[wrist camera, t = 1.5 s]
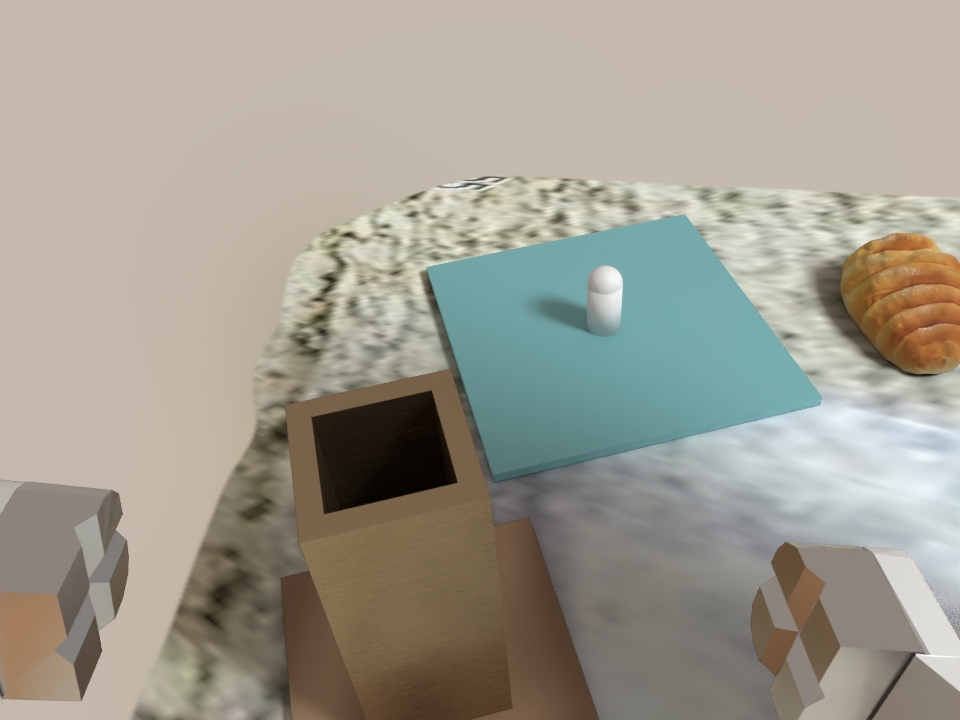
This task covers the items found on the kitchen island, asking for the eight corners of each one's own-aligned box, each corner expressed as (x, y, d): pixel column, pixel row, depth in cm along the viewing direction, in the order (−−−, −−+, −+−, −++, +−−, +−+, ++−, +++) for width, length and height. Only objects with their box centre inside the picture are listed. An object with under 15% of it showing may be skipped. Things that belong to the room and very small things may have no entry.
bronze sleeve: (480, 590, 39) (450, 368, 29) (512, 708, 35) (490, 497, 25) (357, 621, 38) (284, 404, 28) (376, 745, 34) (298, 543, 24)
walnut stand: (529, 524, 42) (525, 450, 38) (614, 772, 33) (620, 709, 29) (283, 584, 40) (253, 513, 36) (306, 860, 32) (269, 806, 28)
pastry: (998, 381, 46) (1023, 329, 44) (870, 386, 47) (887, 335, 44) (937, 274, 53) (955, 223, 51) (825, 279, 54) (838, 228, 51)
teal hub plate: (684, 221, 59) (690, 159, 55) (819, 405, 46) (839, 339, 42) (427, 274, 56) (418, 213, 53) (494, 482, 44) (488, 419, 40)
